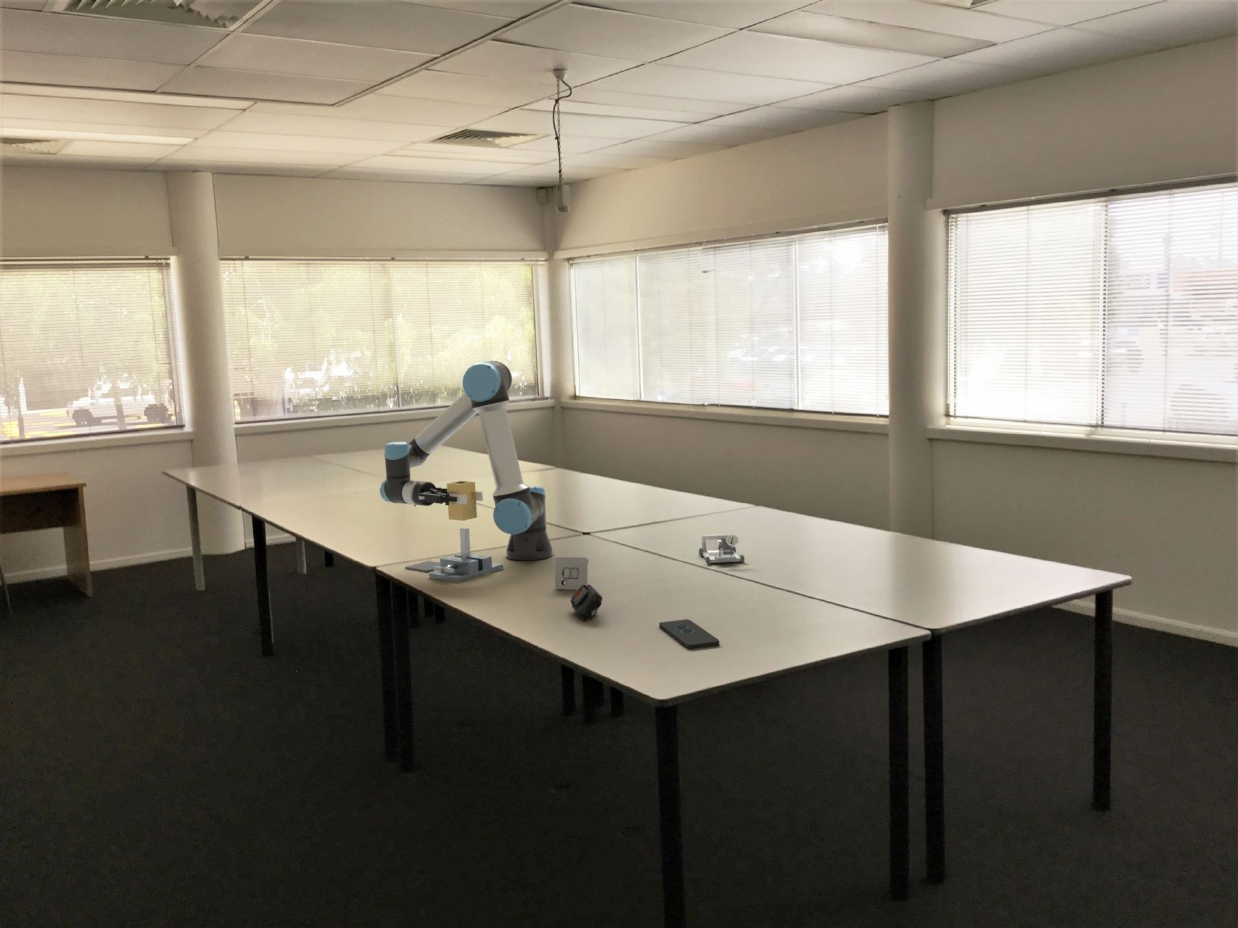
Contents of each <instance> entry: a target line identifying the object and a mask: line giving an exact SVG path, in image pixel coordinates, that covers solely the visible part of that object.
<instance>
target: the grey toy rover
mask: <svg viewBox="0 0 1238 928" xmlns="http://www.w3.org/2000/svg"><path fill="white" fill-rule="evenodd" d="M739 542H740V541H739V537H738V536H737V535H735V534H732V533H731V534H730V533H729V534H708V535H707V534H705V535H701V547H700V548H699V549H698V556H699V555H700V556H703V557H704V558H705V564H706V563H707V565H708V566H710V565H711V564H714V563H716V564H717V563H732V562H733V563H735V562H740V561H741V563H744V564H745V556H744V554H740V555H739V554H737V548H736V545H738V543H739ZM700 556H699V557H700ZM707 565H706V566H707Z"/></svg>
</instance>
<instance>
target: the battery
mask: <svg viewBox="0 0 1238 928" xmlns="http://www.w3.org/2000/svg"><path fill="white" fill-rule="evenodd" d="M602 602H603V596H602V595H601V594H600V593H599V592H598V591H597V590H596V589H595V587H593V586H592V585H590V584H587V586H586V585H582V586H581V587H580V588H579V589H578V590H576V592H575V593H574V594H573V596H572V597H571V599H570V603H571V608H572V609H573V610H574V612H575V613H576V614H577V615H578V617H580V618H581V619H582V620H583V621H586V620H590V619H591V618H593V616H594V615H595V614H596V615H597V614H598V612H597V611H598V609H600V607H601V606H602Z"/></svg>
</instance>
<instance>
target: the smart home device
mask: <svg viewBox="0 0 1238 928" xmlns="http://www.w3.org/2000/svg"><path fill="white" fill-rule="evenodd" d="M659 629H660V630H662V631H663V632H664V633H665V634H667V635H668V636H669V637H671V638H672V639H673V640H674V641H676V642H677V643H678V644H680V645H681V646H682V647H683V648H684V649H686V650H690V651H691V650H697V649H706V648H713V647H720V640H719V638H717V637H716V636H714V635H712V634H711V633H709V631H707V630H705V629H704V628H702V627H701V626H700V625H698V624H697V623H695V622H693V621H692V620H691V619H687V618H686V619H685V618H684V619H679V620H678V619H677V620H670V621H663V622H662V621H661V622H659Z"/></svg>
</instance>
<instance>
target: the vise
mask: <svg viewBox="0 0 1238 928" xmlns="http://www.w3.org/2000/svg"><path fill="white" fill-rule="evenodd" d="M470 537H471V534H470V528H468V527H462V528H459V539H460V553H457V554H454V555H453V556H451V555H448V556H445V557H441V558H439V562H440V565H441V567H439V566H434V567H433V570H434V571H431V572H428V578H429V579H432V580H433V579H434V580H437V581H445V582H450V583H457V584H459V583H462V582H465V581H468V580H469V581H470V580H472V579H475V578H478V576H479V577H482V576H485V575H488V574H491V572H492V573H495V572H498V570H499V571H502V570H504V564H502V563H498V562H497V563H496V562H493V558H492V556H491V555H486V554H485V555H484V554H479V553H478V554H477V553H471V541H470V540H471V539H470ZM484 574H485V575H484ZM461 581H462V582H461Z"/></svg>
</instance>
